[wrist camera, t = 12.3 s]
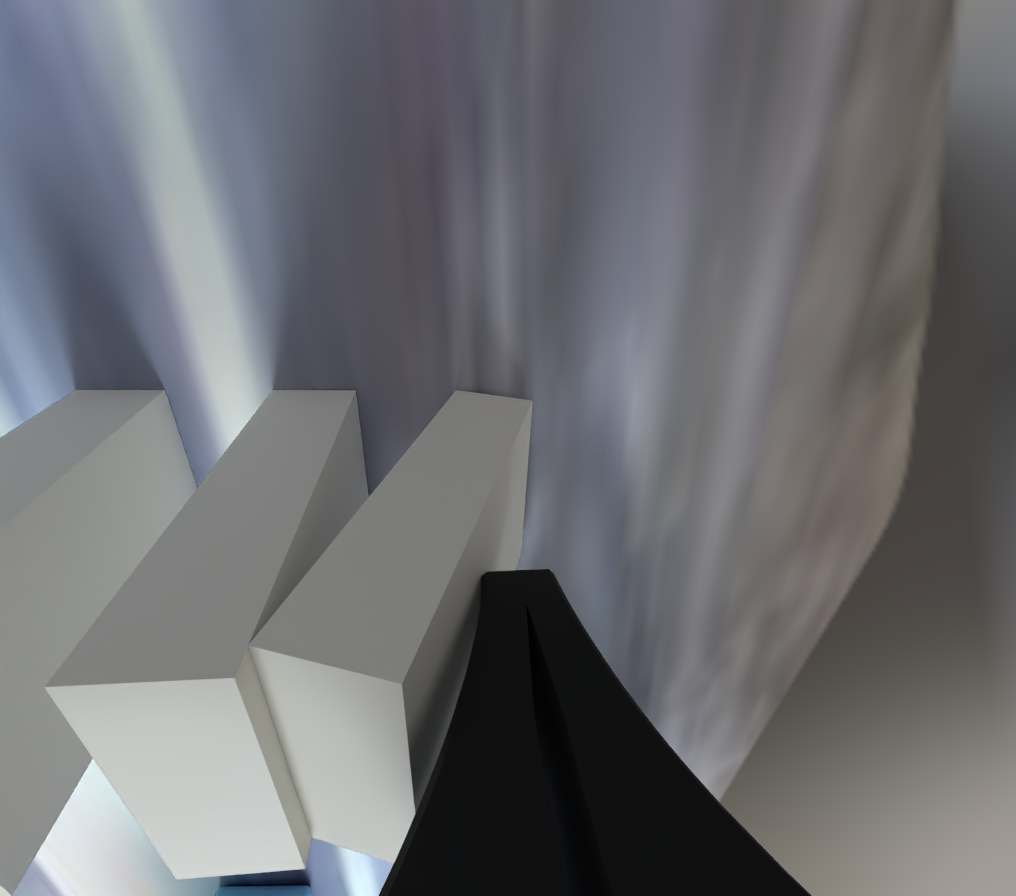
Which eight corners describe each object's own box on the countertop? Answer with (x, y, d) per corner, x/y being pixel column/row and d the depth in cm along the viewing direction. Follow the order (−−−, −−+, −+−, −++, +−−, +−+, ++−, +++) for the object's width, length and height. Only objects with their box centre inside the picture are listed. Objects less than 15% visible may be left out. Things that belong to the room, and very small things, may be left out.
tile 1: (521, 552, 15) (421, 872, 8) (457, 539, 15) (311, 836, 9) (532, 400, 12) (401, 684, 6) (456, 390, 13) (248, 645, 6)
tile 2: (374, 542, 15) (305, 868, 8) (305, 544, 15) (176, 879, 8) (355, 390, 13) (234, 677, 6) (273, 390, 12) (44, 687, 6)
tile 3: (216, 547, 15) (12, 895, 8) (143, 549, 14) (-134, 909, 8) (164, 390, 12) (-207, 701, 5) (75, 389, 12) (-434, 715, 5)
